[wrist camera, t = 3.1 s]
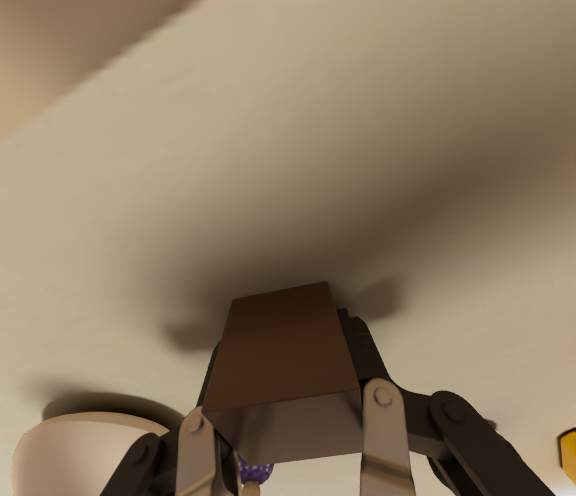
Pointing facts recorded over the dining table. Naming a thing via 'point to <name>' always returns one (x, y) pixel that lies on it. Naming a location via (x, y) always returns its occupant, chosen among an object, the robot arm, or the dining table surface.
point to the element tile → (569, 454)
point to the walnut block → (285, 379)
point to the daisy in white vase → (75, 453)
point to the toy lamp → (253, 476)
